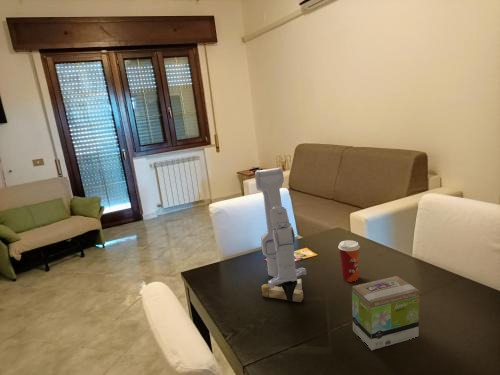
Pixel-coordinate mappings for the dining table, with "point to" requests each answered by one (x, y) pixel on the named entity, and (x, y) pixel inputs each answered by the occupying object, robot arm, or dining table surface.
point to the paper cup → (349, 260)
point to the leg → (280, 293)
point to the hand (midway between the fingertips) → (289, 300)
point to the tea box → (385, 312)
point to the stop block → (298, 285)
